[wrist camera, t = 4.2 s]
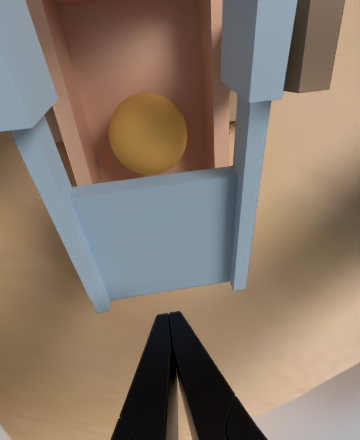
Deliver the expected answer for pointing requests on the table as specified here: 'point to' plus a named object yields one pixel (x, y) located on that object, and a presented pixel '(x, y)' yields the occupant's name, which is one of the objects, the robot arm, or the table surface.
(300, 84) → the stand
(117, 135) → the ball
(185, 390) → the robot arm
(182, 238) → the lever
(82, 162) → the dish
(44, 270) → the table surface
